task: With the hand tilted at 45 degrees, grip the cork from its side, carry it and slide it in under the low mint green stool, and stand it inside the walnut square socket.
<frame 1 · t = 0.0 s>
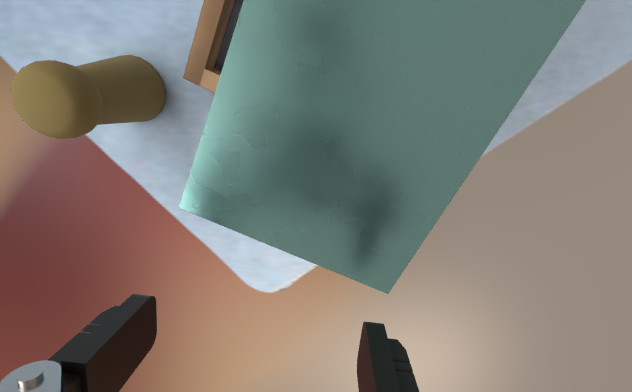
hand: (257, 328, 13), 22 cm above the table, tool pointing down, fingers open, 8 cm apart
cork: (135, 89, 32), on the table
mint green stool: (349, 84, 21), on the table
socket: (274, 42, 29), on the table
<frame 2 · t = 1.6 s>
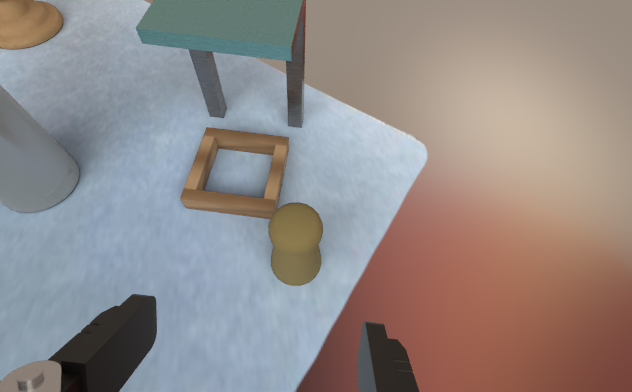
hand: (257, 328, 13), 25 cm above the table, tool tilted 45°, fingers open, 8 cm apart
cork: (296, 261, 40), on the table
mint green stool: (241, 85, 40), on the table
candle holder: (26, 28, 59), on the table
socket: (240, 176, 45), on the table
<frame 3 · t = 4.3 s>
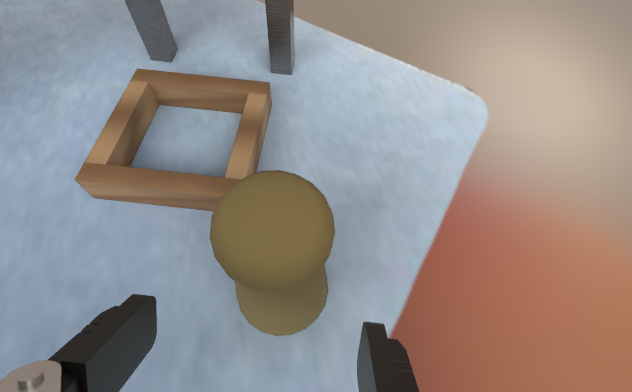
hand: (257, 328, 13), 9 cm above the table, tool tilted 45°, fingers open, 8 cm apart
cork: (282, 288, 22), on the table
socket: (192, 146, 28), on the table
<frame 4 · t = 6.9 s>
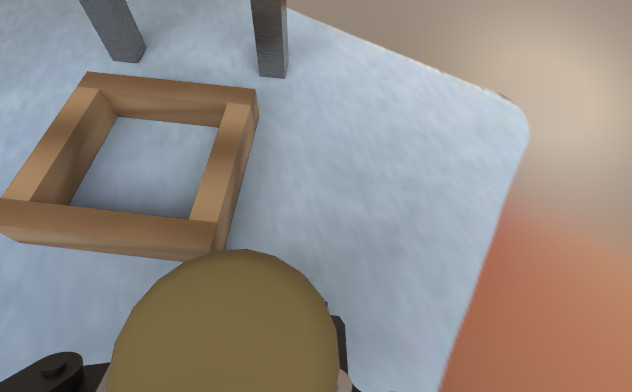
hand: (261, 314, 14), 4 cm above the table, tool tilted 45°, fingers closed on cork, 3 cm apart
cork: (266, 374, 16), on the table, touching gripper
socket: (154, 171, 22), on the table
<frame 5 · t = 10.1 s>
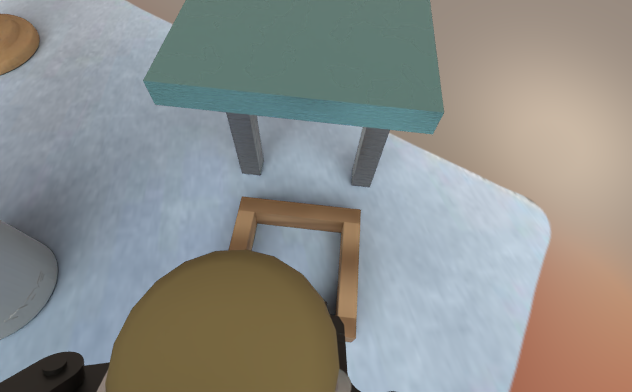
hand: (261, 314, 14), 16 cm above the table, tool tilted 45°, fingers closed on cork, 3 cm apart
cork: (269, 375, 16), point 12 cm above the table, touching gripper
mint green stool: (303, 145, 26), on the table
socket: (293, 269, 31), on the table
when the fingers open (5 cm above the table, at t = 13.6 s): cork moves 1 cm, resting in socket.
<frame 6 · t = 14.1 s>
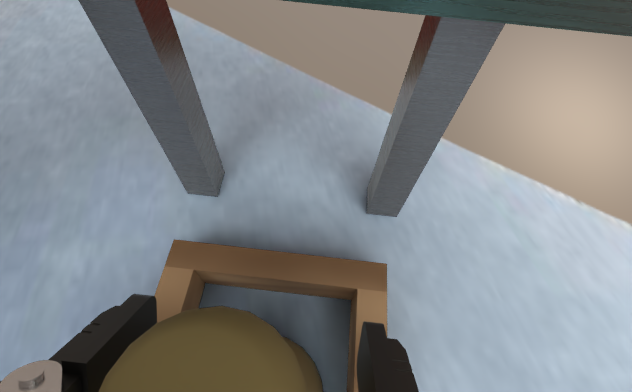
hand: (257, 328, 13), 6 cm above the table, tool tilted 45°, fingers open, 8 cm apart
mint green stool: (275, 148, 12), on the table
socket: (264, 374, 17), on the table
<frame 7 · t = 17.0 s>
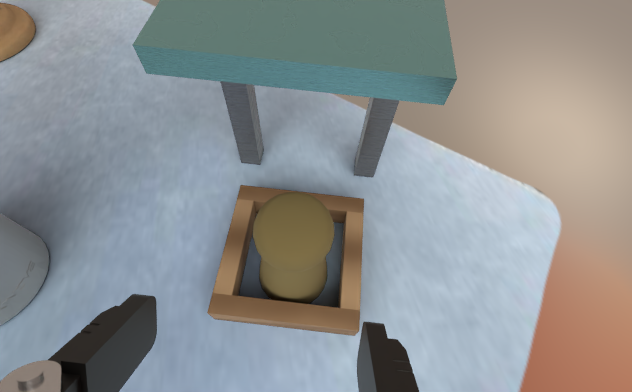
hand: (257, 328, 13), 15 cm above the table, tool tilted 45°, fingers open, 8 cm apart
cork: (293, 272, 30), resting in socket
mint green stool: (304, 128, 25), on the table
socket: (294, 260, 30), on the table
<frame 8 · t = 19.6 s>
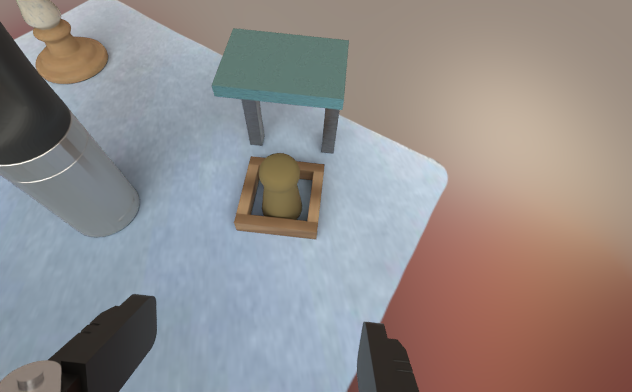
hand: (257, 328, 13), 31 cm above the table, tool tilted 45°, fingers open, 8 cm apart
cork: (282, 207, 50), resting in socket
mint green stool: (287, 121, 46), on the table
candle holder: (75, 63, 64), on the table
socket: (282, 200, 51), on the table
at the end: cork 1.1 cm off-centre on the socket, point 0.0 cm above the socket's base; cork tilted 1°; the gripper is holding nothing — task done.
